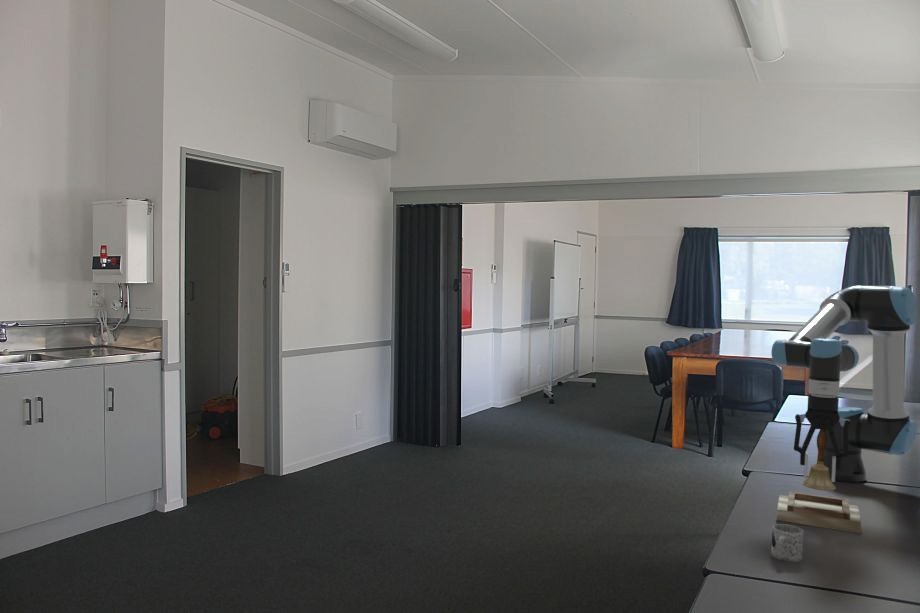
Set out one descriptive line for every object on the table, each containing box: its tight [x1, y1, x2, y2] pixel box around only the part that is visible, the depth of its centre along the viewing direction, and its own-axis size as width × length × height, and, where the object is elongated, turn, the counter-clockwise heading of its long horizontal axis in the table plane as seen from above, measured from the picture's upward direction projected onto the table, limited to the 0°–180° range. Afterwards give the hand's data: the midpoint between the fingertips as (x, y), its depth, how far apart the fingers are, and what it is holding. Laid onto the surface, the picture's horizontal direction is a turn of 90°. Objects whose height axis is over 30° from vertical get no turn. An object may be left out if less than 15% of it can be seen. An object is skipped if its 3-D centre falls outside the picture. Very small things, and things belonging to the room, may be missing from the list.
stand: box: [776, 490, 862, 534], centre depth 202 cm, size 15×20×4 cm
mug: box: [770, 523, 804, 563], centre depth 172 cm, size 10×7×7 cm
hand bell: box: [801, 429, 837, 492], centre depth 201 cm, size 8×8×16 cm
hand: (819, 478), depth 201 cm, fingers closed on hand bell, 6 cm apart
